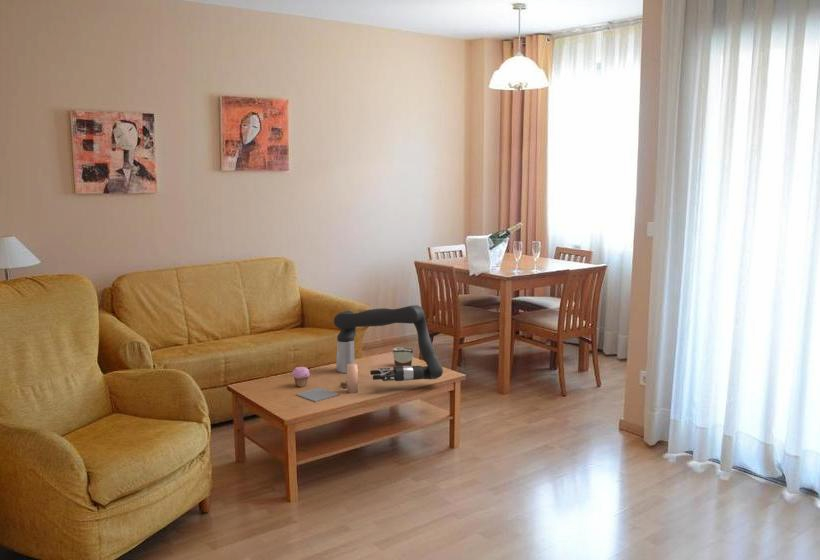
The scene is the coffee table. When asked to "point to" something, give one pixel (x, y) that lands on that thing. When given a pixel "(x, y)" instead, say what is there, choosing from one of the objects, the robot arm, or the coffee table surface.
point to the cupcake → (301, 376)
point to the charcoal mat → (317, 394)
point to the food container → (403, 356)
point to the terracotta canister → (352, 377)
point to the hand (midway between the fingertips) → (371, 375)
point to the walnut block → (344, 384)
